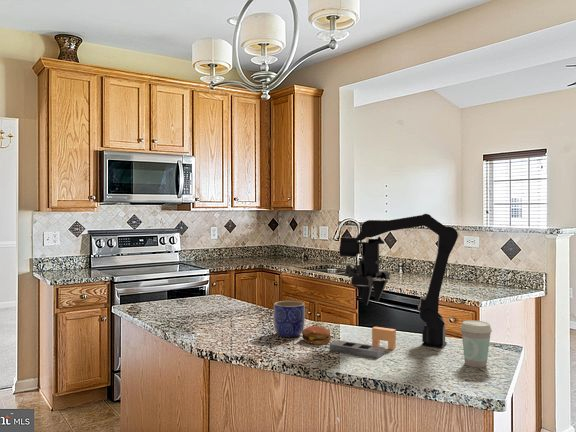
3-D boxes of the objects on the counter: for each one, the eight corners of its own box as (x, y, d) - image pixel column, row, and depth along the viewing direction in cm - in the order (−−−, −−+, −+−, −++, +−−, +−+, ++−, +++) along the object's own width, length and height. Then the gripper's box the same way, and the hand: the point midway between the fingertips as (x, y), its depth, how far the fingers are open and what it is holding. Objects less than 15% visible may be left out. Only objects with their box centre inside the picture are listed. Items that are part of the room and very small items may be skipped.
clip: (395, 348, 164) (395, 329, 164) (393, 349, 162) (393, 330, 162) (374, 344, 168) (374, 326, 168) (371, 346, 166) (372, 328, 166)
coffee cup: (455, 360, 151) (455, 320, 151) (482, 359, 152) (483, 319, 152) (467, 369, 143) (468, 326, 143) (497, 368, 144) (497, 326, 143)
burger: (326, 337, 178) (326, 323, 178) (334, 344, 169) (334, 330, 169) (298, 338, 176) (298, 325, 176) (305, 346, 167) (305, 331, 167)
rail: (384, 353, 158) (384, 347, 158) (377, 358, 153) (377, 352, 153) (337, 346, 166) (337, 340, 166) (329, 350, 161) (329, 344, 161)
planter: (311, 334, 181) (311, 303, 181) (290, 340, 173) (290, 307, 173) (288, 329, 188) (288, 299, 188) (267, 335, 180) (267, 303, 180)
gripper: (360, 254, 185) (361, 297, 186) (336, 258, 170) (337, 305, 170) (389, 255, 179) (390, 299, 179) (367, 260, 164) (368, 308, 164)
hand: (371, 303), depth 173 cm, fingers open, 9 cm apart
